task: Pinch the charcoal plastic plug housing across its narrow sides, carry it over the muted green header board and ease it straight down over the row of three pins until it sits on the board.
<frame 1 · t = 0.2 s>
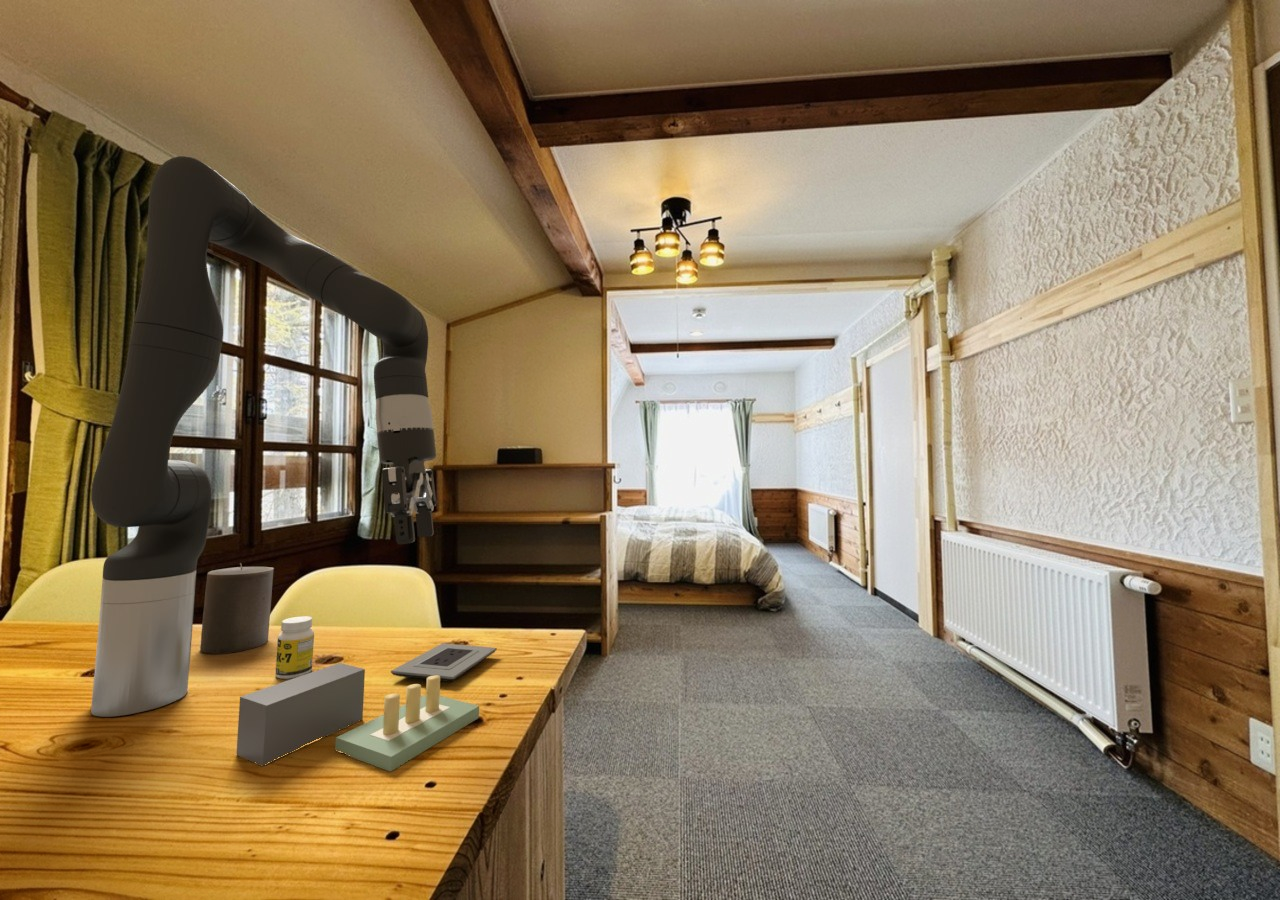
hand: (416, 540, 70), 22 cm above the table, tool pointing down, fingers open, 8 cm apart
plug housing: (303, 736, 58), on the table
header board: (411, 733, 59), on the table
electrical outlet: (446, 672, 79), on the table
pillar candle: (236, 646, 89), on the table
supplement bottle: (293, 674, 77), on the table
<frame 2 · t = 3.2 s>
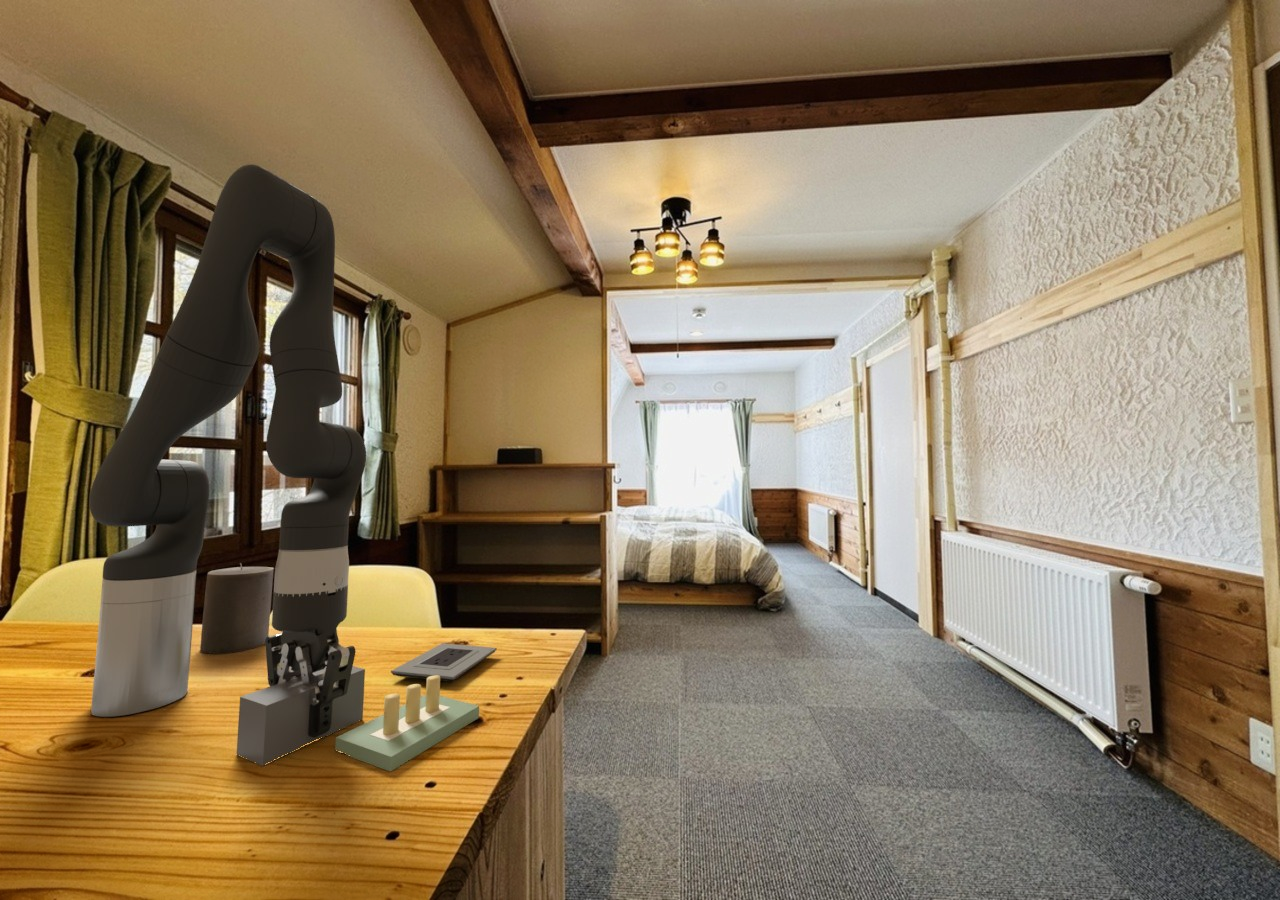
hand: (304, 728, 58), 1 cm above the table, tool pointing down, fingers closed on plug housing, 5 cm apart
plug housing: (304, 736, 58), on the table, touching gripper
everything else where it was.
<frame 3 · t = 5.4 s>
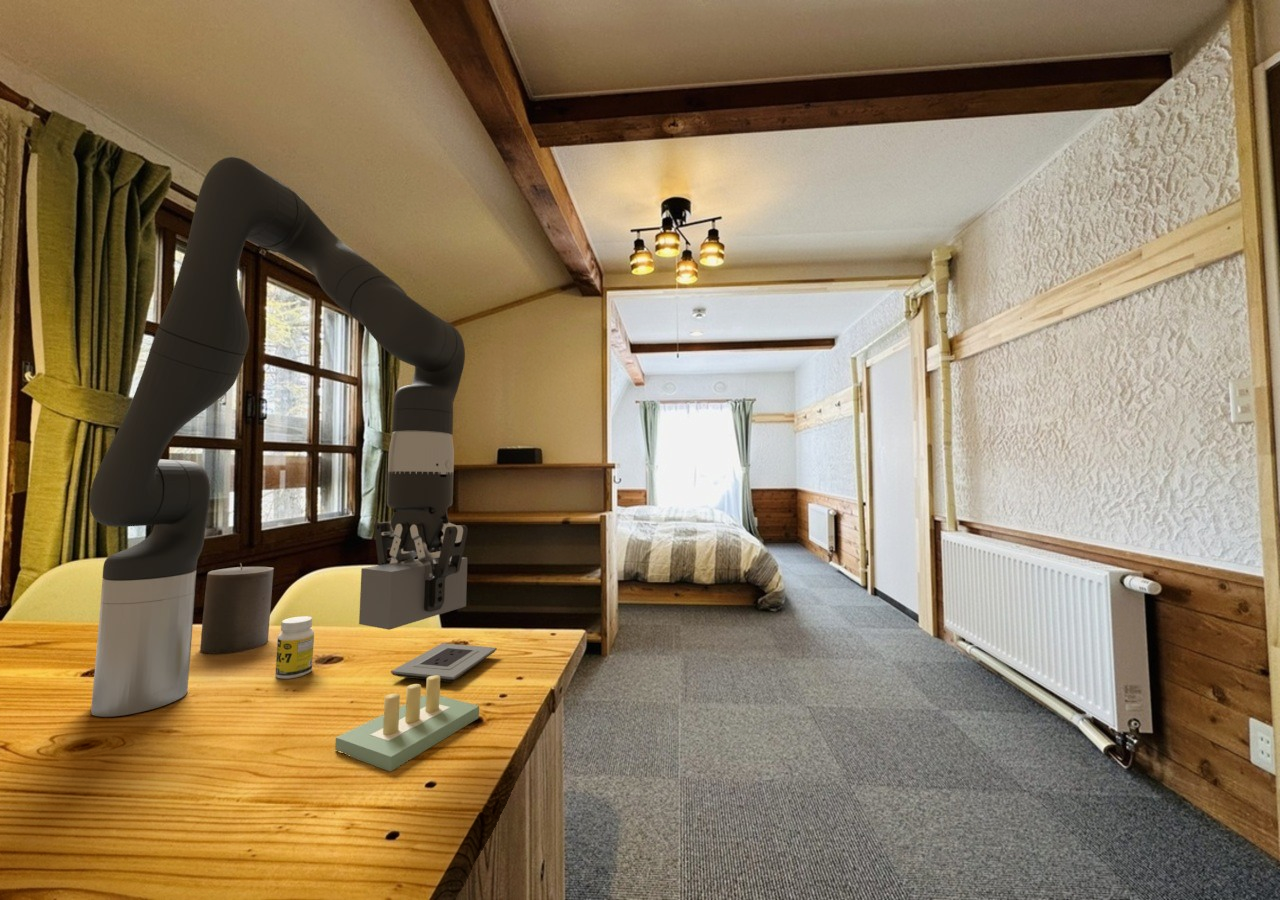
hand: (416, 607, 60), 15 cm above the table, tool pointing down, fingers closed on plug housing, 5 cm apart
plug housing: (416, 614, 60), point 14 cm above the table, touching gripper
everything else where it was.
when the fingers open (3 cm above the table, at t = 7.7 s): plug housing stays where it is, resting on header board.
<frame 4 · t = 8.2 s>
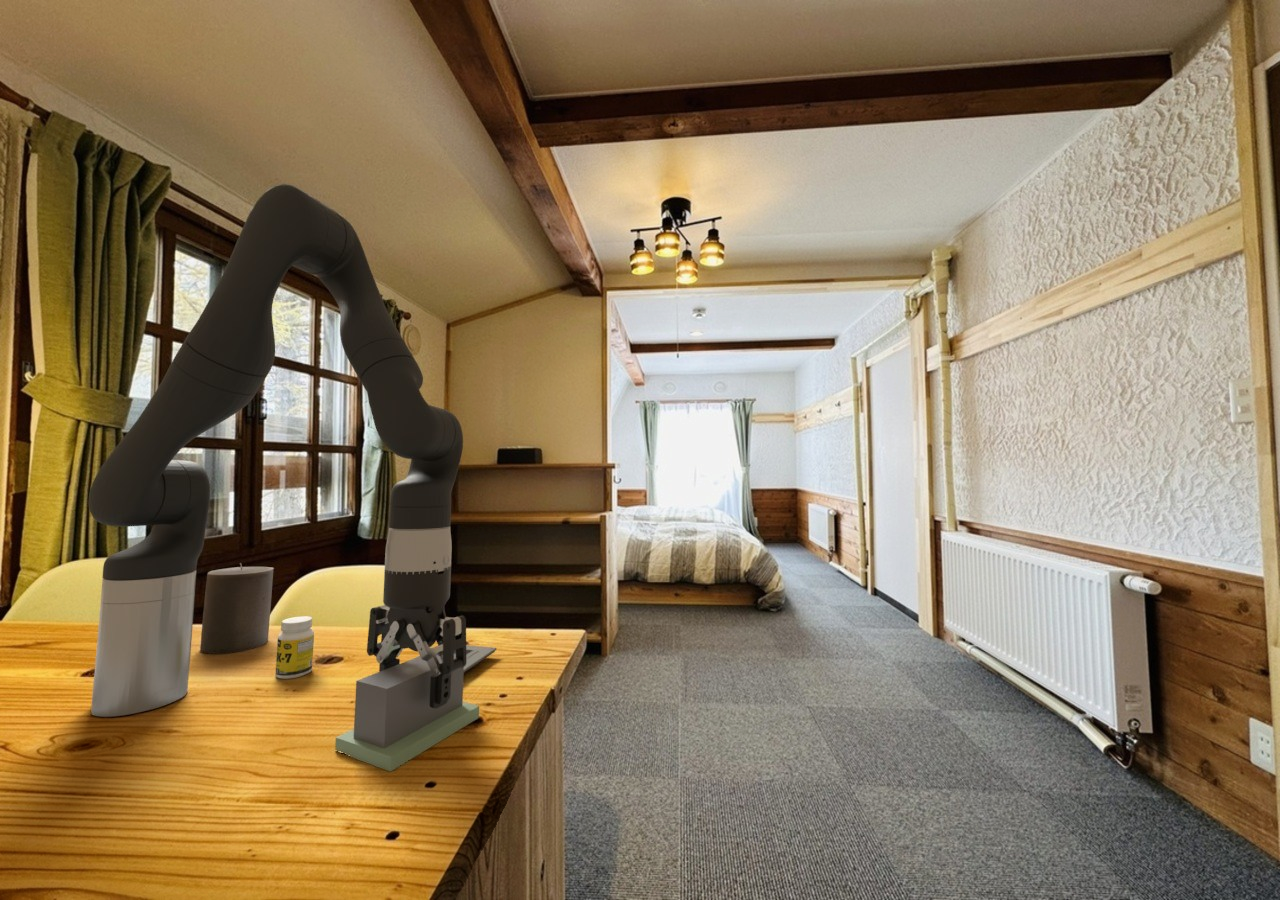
hand: (413, 698, 59), 4 cm above the table, tool pointing down, fingers open, 8 cm apart
plug housing: (411, 720, 59), point 1 cm above the table, touching header board
everything else where it was.
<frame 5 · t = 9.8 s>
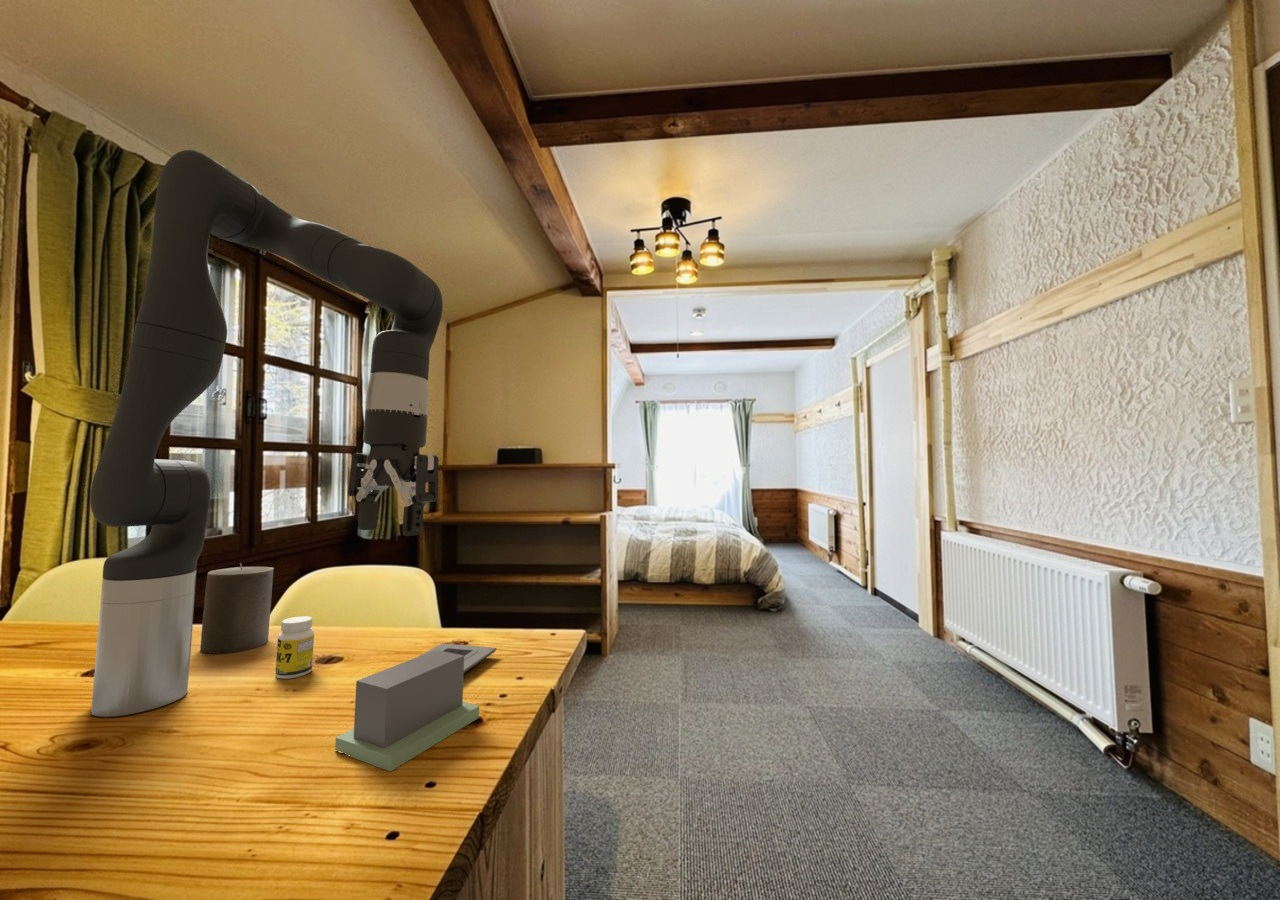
hand: (388, 532, 64), 24 cm above the table, tool pointing down, fingers open, 8 cm apart
nothing on the table moved.
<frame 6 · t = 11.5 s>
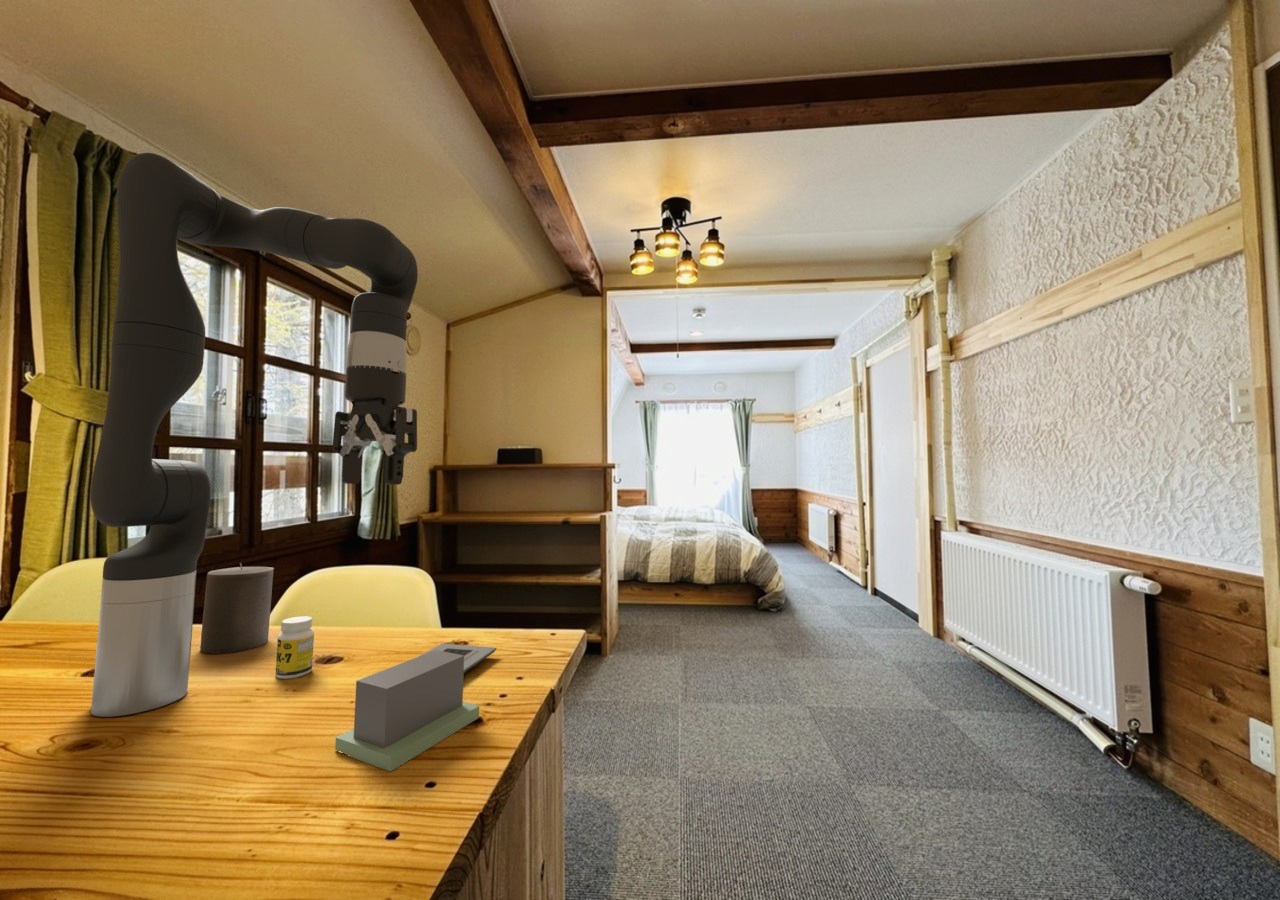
hand: (371, 484, 68), 30 cm above the table, tool pointing down, fingers open, 8 cm apart
nothing on the table moved.
at the end: plug housing 0.1 cm off-centre on the header board, point 1.5 cm above the header board's base; plug housing tilted 0°; the gripper is holding nothing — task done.
